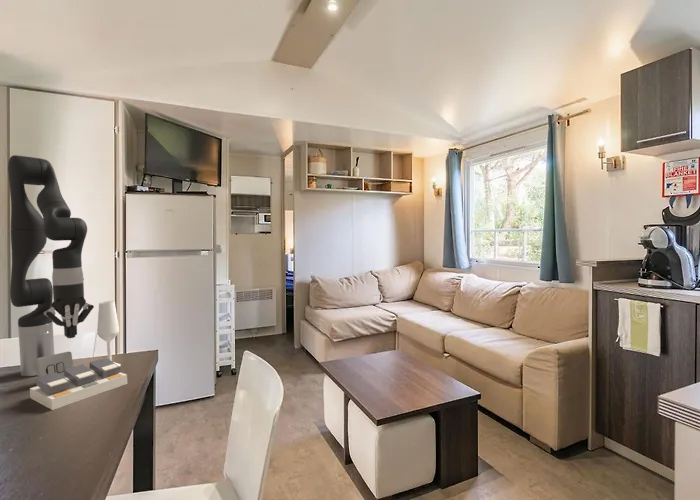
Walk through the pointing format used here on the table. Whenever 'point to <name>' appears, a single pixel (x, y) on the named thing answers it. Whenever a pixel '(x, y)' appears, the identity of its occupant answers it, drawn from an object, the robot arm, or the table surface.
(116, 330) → the champagne flute
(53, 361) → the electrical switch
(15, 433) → the table surface
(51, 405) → the switch panel
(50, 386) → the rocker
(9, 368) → the table surface
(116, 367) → the block
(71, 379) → the rocker middle
